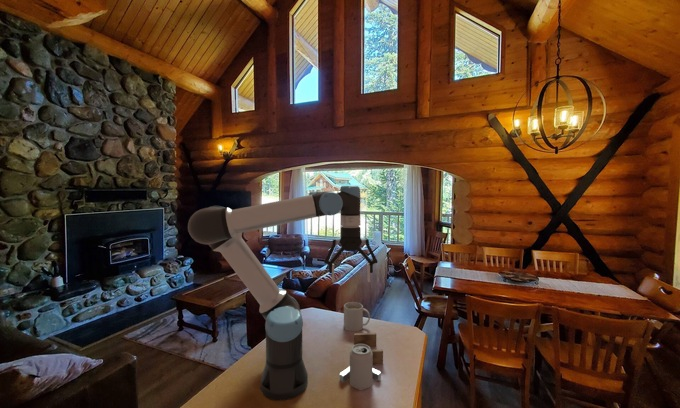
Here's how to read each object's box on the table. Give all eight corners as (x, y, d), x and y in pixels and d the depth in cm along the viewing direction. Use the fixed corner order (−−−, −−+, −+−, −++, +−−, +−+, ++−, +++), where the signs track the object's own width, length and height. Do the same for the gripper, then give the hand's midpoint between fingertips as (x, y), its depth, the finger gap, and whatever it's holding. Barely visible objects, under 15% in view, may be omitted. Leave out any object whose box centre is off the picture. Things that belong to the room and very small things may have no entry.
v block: (339, 383, 93) (339, 376, 93) (338, 369, 101) (338, 362, 101) (381, 381, 94) (381, 374, 94) (376, 367, 102) (376, 360, 102)
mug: (339, 326, 133) (340, 305, 132) (354, 320, 139) (354, 300, 139) (356, 335, 125) (356, 312, 124) (370, 328, 131) (371, 306, 131)
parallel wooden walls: (358, 365, 103) (358, 352, 103) (353, 345, 116) (354, 333, 116) (382, 364, 104) (383, 351, 103) (375, 344, 117) (375, 332, 117)
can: (372, 392, 89) (372, 355, 89) (348, 390, 90) (348, 353, 90) (372, 377, 97) (372, 342, 96) (350, 375, 98) (350, 341, 97)
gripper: (317, 227, 105) (317, 284, 106) (384, 227, 105) (384, 284, 106) (318, 225, 112) (319, 278, 113) (381, 224, 112) (381, 277, 113)
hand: (350, 281), depth 109 cm, fingers open, 13 cm apart
